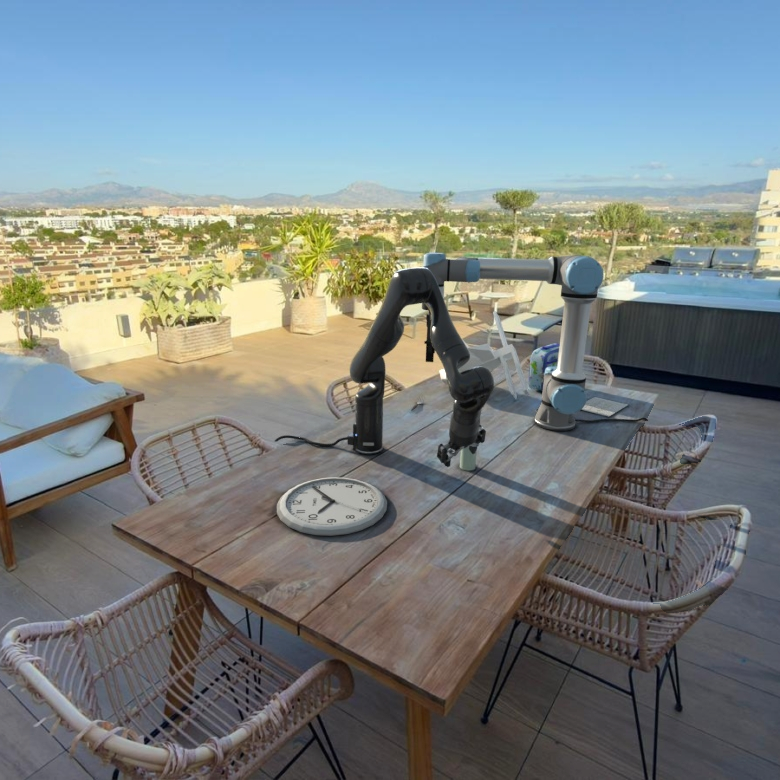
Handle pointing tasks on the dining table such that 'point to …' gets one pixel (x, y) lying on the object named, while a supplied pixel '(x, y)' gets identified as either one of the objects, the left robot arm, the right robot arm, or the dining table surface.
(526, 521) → the dining table surface
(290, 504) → the wall clock
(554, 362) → the lunch box
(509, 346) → the white plastic object
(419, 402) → the fork
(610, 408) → the invitation card
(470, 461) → the bottle
